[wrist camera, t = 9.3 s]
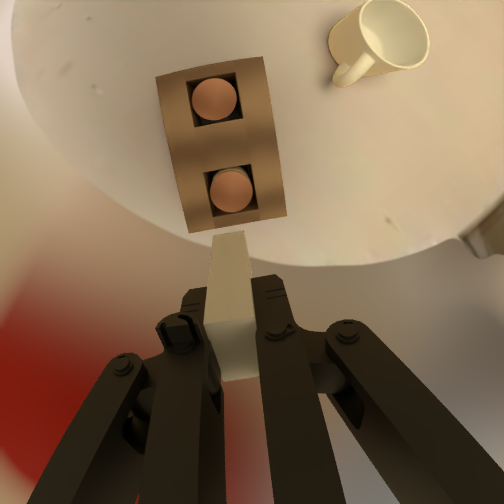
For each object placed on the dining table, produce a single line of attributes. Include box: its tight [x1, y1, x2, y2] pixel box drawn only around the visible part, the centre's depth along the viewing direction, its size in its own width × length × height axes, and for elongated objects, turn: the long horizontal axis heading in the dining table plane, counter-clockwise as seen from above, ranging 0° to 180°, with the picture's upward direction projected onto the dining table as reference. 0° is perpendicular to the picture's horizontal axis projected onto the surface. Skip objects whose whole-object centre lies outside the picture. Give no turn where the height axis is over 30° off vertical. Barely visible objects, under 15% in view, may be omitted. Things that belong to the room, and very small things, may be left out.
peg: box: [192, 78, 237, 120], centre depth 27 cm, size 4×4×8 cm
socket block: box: [155, 56, 287, 233], centre depth 30 cm, size 16×10×8 cm, turn 9°
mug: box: [328, 0, 429, 88], centre depth 25 cm, size 12×8×10 cm
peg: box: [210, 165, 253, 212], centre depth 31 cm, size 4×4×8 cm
